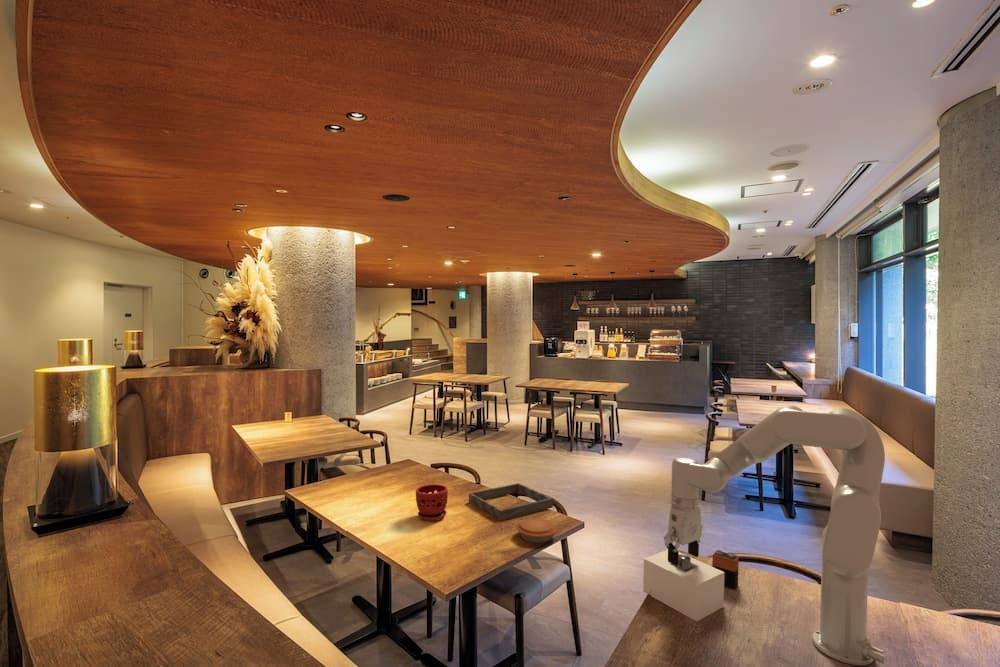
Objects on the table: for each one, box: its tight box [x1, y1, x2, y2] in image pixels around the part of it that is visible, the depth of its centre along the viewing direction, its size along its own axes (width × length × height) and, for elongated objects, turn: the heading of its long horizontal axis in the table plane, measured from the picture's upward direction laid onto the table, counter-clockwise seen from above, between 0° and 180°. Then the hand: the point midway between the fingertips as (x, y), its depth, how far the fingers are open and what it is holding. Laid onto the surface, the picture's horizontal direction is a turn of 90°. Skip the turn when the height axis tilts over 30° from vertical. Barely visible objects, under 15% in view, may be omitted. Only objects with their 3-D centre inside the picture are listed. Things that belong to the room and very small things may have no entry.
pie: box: [515, 518, 558, 544], centre depth 187 cm, size 15×16×5 cm
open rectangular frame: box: [468, 482, 554, 522], centre depth 219 cm, size 25×28×4 cm
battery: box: [711, 549, 740, 590], centre depth 154 cm, size 4×7×10 cm, turn 52°
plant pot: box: [415, 483, 449, 522], centre depth 203 cm, size 13×13×12 cm
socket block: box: [642, 549, 725, 622], centre depth 145 cm, size 18×13×10 cm
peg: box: [676, 554, 692, 572], centre depth 145 cm, size 4×4×8 cm
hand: (683, 559), depth 145 cm, fingers open, 9 cm apart
